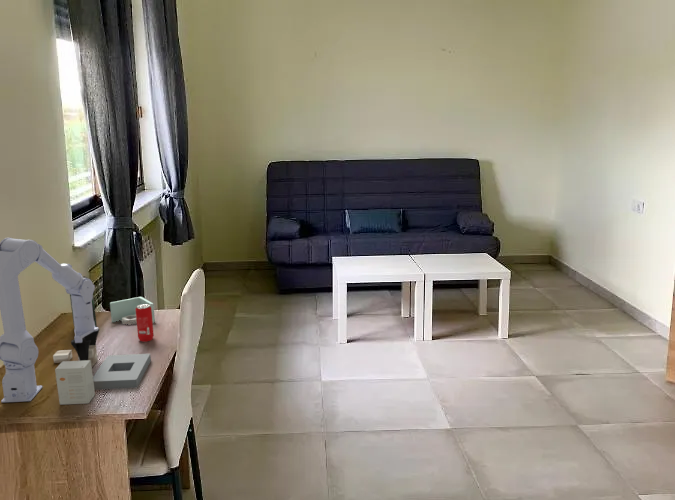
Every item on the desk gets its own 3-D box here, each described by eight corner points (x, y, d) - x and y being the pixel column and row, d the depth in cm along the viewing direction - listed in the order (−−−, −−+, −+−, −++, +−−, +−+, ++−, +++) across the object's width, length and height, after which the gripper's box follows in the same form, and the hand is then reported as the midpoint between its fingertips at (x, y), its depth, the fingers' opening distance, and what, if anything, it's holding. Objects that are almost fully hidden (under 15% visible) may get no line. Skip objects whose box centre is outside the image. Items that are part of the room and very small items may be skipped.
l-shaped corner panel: (111, 321, 249) (109, 302, 247) (142, 315, 256) (141, 296, 254) (123, 330, 239) (121, 310, 238) (155, 323, 246) (153, 303, 245)
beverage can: (135, 340, 228) (131, 307, 225) (145, 336, 232) (142, 303, 229) (146, 343, 225) (143, 309, 222) (157, 338, 230) (154, 305, 227)
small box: (95, 395, 186) (91, 359, 183) (88, 404, 180) (84, 367, 178) (66, 396, 186) (62, 360, 183) (59, 405, 180) (54, 368, 178)
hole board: (137, 387, 190) (136, 379, 189) (90, 389, 189) (89, 381, 189) (150, 360, 209) (150, 353, 209) (108, 362, 209) (108, 355, 208)
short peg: (68, 362, 210) (67, 354, 210) (54, 363, 210) (53, 355, 210) (72, 357, 215) (71, 349, 214) (58, 357, 214) (57, 350, 214)
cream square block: (93, 365, 207) (92, 350, 206) (79, 366, 207) (77, 350, 206) (97, 360, 211) (96, 345, 210) (83, 360, 211) (81, 345, 210)
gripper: (89, 322, 199) (94, 364, 202) (102, 307, 213) (106, 347, 216) (65, 323, 198) (70, 366, 201) (80, 308, 212) (84, 348, 216)
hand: (87, 356), depth 209 cm, fingers open, 7 cm apart
